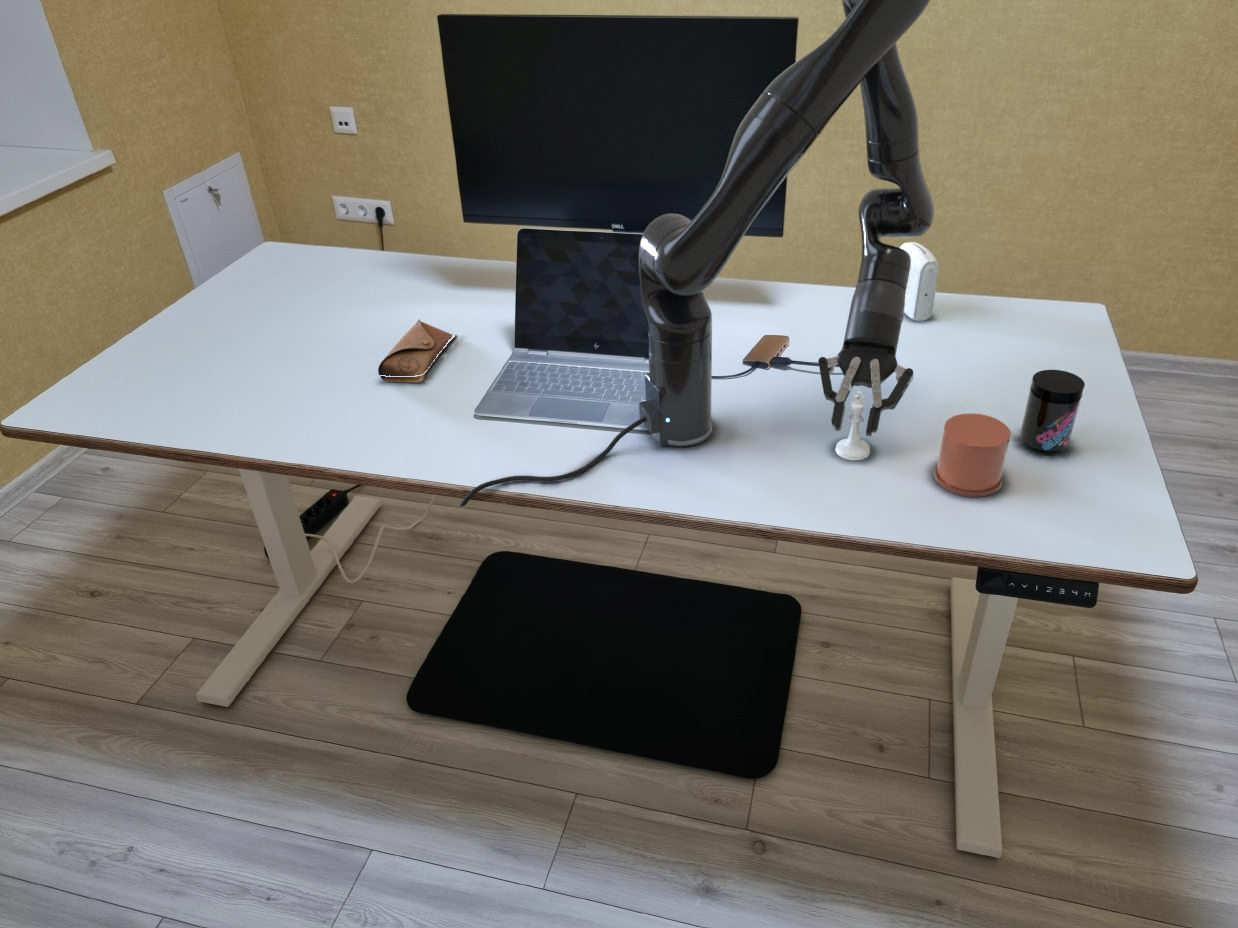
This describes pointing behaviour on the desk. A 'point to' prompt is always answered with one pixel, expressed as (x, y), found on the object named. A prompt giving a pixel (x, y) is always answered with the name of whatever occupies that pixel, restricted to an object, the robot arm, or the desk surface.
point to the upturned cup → (972, 455)
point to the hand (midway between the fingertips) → (853, 432)
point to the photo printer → (920, 282)
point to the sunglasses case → (415, 354)
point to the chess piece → (854, 434)
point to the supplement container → (1051, 411)
